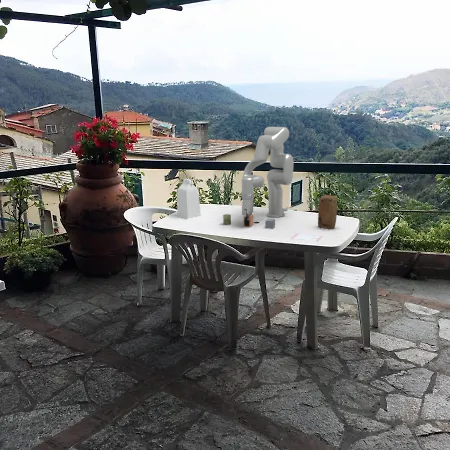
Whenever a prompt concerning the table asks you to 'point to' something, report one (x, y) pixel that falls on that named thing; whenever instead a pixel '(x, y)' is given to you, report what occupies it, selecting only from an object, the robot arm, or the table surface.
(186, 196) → the milk
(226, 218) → the olive cylinder
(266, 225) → the grey cube
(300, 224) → the table surface
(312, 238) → the table surface
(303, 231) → the table surface
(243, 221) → the terracotta block
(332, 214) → the block
